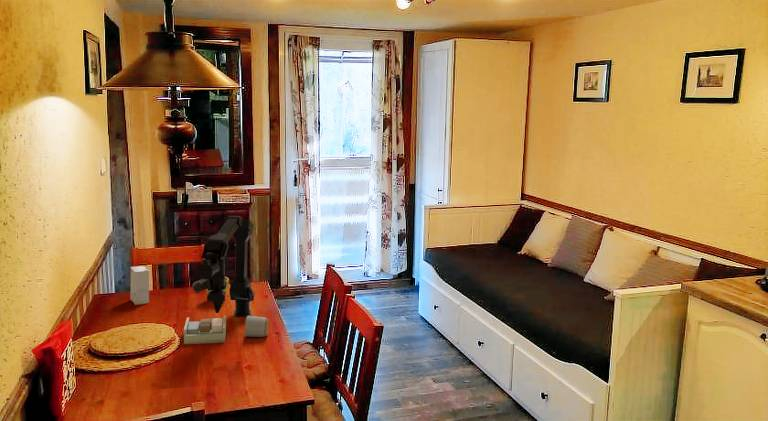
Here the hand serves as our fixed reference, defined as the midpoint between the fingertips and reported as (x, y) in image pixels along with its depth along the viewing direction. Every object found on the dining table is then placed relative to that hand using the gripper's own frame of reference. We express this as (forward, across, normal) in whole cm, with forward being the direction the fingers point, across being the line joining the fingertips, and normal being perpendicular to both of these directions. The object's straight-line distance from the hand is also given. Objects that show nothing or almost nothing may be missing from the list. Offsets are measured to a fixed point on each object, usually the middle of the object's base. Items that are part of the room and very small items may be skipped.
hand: (217, 312), depth 221 cm
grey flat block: (+7, 0, -8) cm, 11 cm away
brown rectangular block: (+6, 0, -4) cm, 7 cm away
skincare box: (+9, -44, -34) cm, 57 cm away
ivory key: (+6, 0, 0) cm, 6 cm away
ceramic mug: (+9, 0, +14) cm, 17 cm away
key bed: (+9, 0, -4) cm, 10 cm away
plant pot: (+9, -42, -2) cm, 43 cm away
